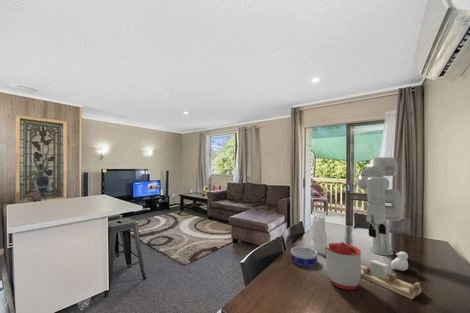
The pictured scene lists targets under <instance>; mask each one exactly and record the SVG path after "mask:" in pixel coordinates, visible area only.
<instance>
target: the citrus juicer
mask: <svg viewBox="0 0 470 313" xmlns="http://www.w3.org/2000/svg"><path fill="white" fill-rule="evenodd" d="M361 254H362V250H361V249H360V248H359V247H357V246H354V245H350V244H347V243H345V242H343V241H341V242H340V243H339V242H330V243H328V248H327V247H326V251H325V252H324V253H323V254H321V255H322V256H325V258H326V261H325V263H326V269H327V270H326V271H327V275H328V277H329V280H330V283H331V284H332V285H334V286H335V287H337V288H340V289H342V290H347V291H353V290H356V289H357V288H358V287H359V285H360V281H361V265H362V259H361V257H362V256H361Z"/></svg>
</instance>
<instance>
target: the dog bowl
mask: <svg viewBox="0 0 470 313" xmlns="http://www.w3.org/2000/svg"><path fill="white" fill-rule="evenodd" d="M290 259H291V262H292V263H293V264H295V265H298V266H301V267H314V266H316V265H317V264H318V253H317V252H316V251H315V250H313V249H311V247H306V246H295V247H292V248H291V249H290Z"/></svg>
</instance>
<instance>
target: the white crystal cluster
mask: <svg viewBox="0 0 470 313" xmlns="http://www.w3.org/2000/svg"><path fill="white" fill-rule="evenodd" d="M311 229H312V231H311V242H310V248H311V249H313V250H315V251H316V252H317V254H320V255H322V254H323V253H324V252H325V251H326V247H327V248H329V244H328V238H327V232H326V217H325V215H324V214H322V213H319V212H317V213H316V214H315V215H314V216H313V218H312V228H311Z"/></svg>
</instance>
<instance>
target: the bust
mask: <svg viewBox="0 0 470 313" xmlns="http://www.w3.org/2000/svg"><path fill="white" fill-rule="evenodd" d="M395 255H396V256H397V257H395V258H394V259H393V260H392V261H391V262H390V267H391V269H392V270H398V271H401V272H405V271H406V270H408V268H409V263H408V258H409V255H408V253H407V252H405V251H403V250H402V251H399V252H396V253H395Z"/></svg>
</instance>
